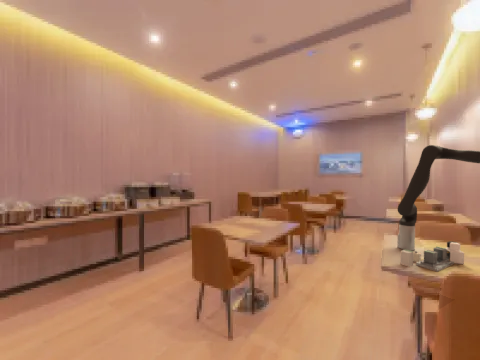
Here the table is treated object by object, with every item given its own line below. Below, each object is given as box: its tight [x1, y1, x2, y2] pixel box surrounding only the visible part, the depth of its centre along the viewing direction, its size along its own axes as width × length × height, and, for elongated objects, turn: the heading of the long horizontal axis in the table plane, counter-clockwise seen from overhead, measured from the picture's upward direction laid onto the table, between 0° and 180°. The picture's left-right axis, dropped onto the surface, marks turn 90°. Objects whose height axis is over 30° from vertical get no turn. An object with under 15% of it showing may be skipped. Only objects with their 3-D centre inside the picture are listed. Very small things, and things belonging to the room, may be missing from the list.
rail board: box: [415, 246, 455, 272], centre depth 133 cm, size 10×22×9 cm, turn 118°
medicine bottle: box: [445, 240, 465, 265], centre depth 138 cm, size 7×7×12 cm
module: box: [400, 249, 415, 268], centre depth 133 cm, size 4×5×8 cm
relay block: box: [412, 250, 422, 263], centre depth 139 cm, size 4×4×6 cm
